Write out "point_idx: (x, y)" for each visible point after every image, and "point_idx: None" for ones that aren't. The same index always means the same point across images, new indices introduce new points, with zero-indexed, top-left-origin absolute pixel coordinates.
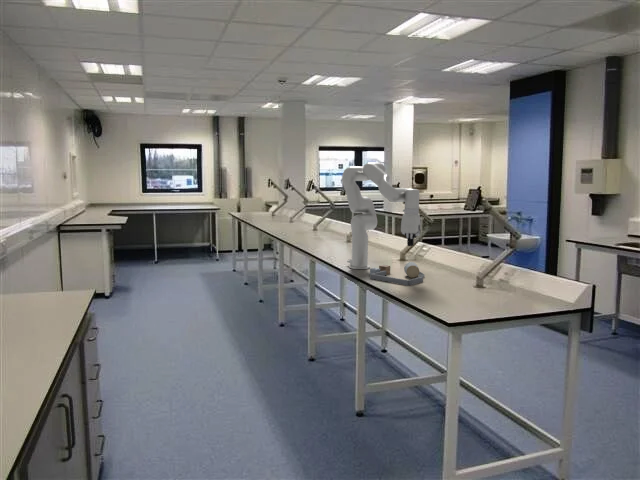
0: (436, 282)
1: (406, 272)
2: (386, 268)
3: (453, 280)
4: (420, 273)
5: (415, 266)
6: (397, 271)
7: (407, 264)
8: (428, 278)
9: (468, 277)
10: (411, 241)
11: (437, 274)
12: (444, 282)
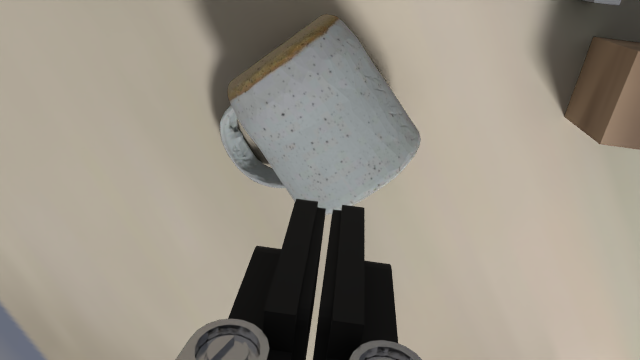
0: (42, 8)
1: (342, 21)
2: (618, 64)
3: (17, 173)
4: (278, 178)
5: (245, 79)
6: (532, 238)
7: (375, 130)
8: (187, 126)
9: (26, 318)
10: (259, 289)
11: (222, 299)
12: (4, 55)
